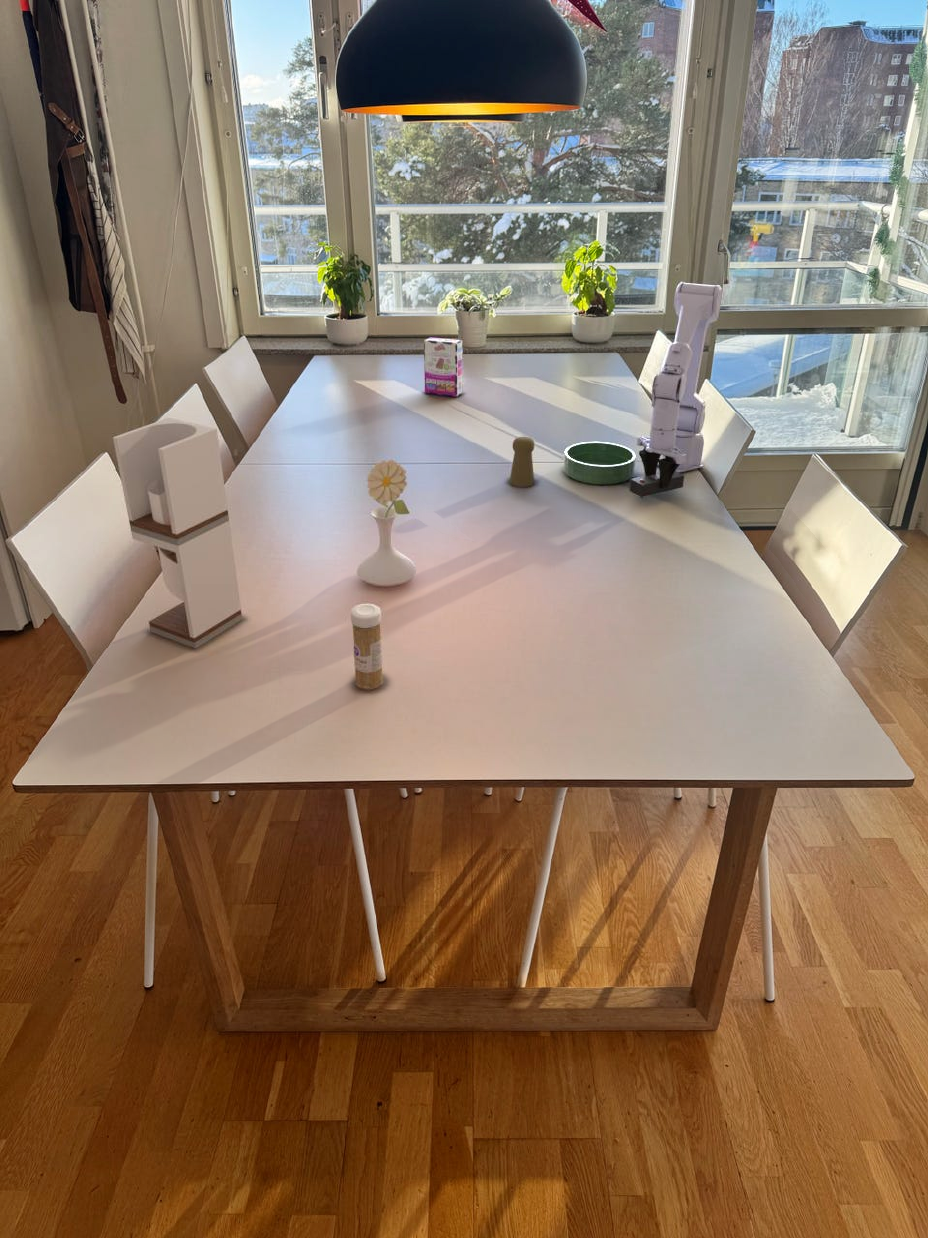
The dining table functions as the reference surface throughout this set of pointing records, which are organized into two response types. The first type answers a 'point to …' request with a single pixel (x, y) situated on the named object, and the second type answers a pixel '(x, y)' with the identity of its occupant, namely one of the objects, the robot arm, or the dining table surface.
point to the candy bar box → (443, 366)
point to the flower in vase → (386, 528)
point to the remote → (654, 484)
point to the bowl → (599, 463)
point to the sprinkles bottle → (367, 646)
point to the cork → (522, 462)
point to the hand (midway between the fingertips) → (656, 483)
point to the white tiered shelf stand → (183, 523)
